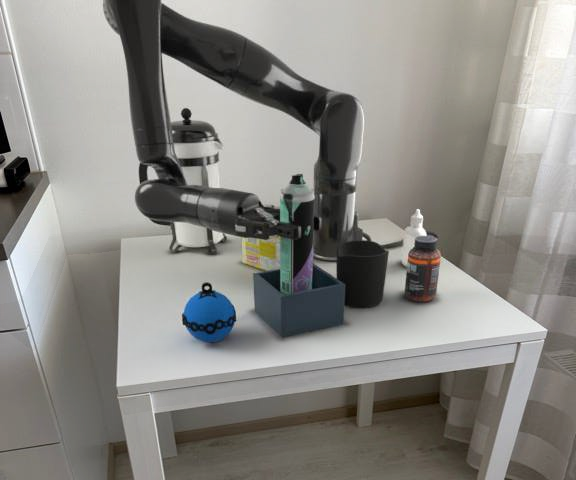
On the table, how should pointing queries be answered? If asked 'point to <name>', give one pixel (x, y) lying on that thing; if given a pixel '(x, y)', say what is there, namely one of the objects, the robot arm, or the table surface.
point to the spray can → (298, 252)
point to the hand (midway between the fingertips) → (310, 228)
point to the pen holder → (362, 272)
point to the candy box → (261, 253)
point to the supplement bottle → (422, 269)
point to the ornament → (209, 315)
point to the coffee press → (194, 176)
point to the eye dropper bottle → (412, 235)
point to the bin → (299, 303)
